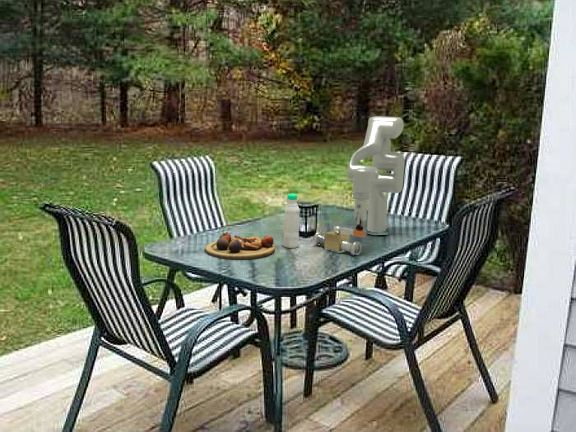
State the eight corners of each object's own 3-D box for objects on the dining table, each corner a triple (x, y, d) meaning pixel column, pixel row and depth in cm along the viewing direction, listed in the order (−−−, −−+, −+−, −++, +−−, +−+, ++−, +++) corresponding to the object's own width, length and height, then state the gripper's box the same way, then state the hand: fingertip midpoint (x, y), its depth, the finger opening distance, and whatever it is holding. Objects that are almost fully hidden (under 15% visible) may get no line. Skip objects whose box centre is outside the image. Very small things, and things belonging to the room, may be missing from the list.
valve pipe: (322, 243, 300) (323, 226, 298) (361, 254, 283) (362, 236, 281) (312, 246, 295) (313, 228, 293) (351, 257, 278) (352, 238, 276)
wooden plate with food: (283, 245, 296) (283, 228, 295) (263, 263, 266) (263, 244, 264) (219, 240, 304) (219, 224, 302) (194, 257, 274) (193, 239, 272)
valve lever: (366, 236, 281) (366, 230, 280) (362, 237, 278) (362, 231, 277) (336, 230, 289) (336, 225, 289) (332, 232, 287) (332, 226, 286)
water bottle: (280, 247, 292) (282, 194, 286) (287, 243, 298) (289, 192, 292) (294, 249, 289) (295, 196, 283) (301, 245, 295) (302, 193, 289)
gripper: (367, 199, 273) (365, 239, 277) (371, 193, 287) (369, 231, 291) (350, 198, 275) (348, 238, 279) (355, 192, 289) (353, 230, 293)
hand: (359, 234), depth 285 cm, fingers closed
